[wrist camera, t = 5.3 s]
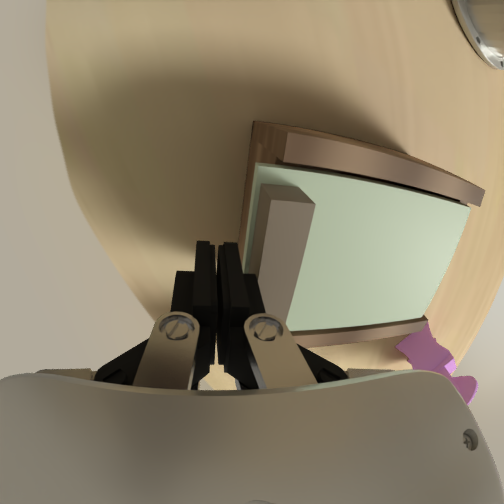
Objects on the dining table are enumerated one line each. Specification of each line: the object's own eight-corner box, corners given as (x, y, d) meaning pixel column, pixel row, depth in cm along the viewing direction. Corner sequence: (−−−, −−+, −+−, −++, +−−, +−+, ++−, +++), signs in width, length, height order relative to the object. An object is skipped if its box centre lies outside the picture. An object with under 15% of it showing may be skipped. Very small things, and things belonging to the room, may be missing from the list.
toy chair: (403, 365, 38) (439, 432, 26) (389, 350, 35) (433, 430, 22) (440, 335, 36) (482, 398, 24) (431, 315, 32) (485, 389, 20)
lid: (464, 203, 13) (491, 221, 11) (417, 311, 18) (435, 334, 15) (255, 162, 11) (268, 179, 8) (235, 323, 15) (240, 360, 13)
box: (409, 155, 20) (485, 190, 12) (373, 270, 26) (421, 331, 18) (253, 120, 17) (288, 132, 9) (235, 267, 23) (249, 350, 15)
